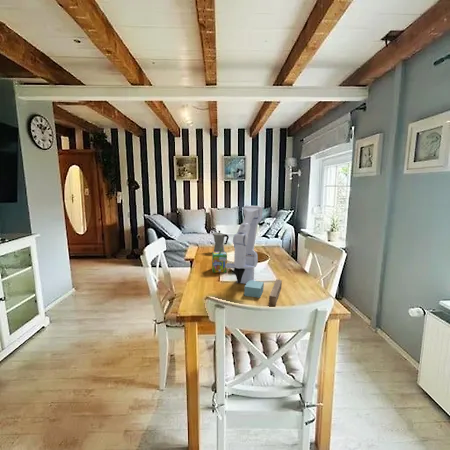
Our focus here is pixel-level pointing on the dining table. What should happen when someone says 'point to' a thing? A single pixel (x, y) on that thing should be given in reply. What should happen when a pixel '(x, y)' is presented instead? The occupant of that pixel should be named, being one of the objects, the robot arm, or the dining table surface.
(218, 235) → the coffeepot
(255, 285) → the block
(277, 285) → the board
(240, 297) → the dining table surface
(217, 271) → the chalk box
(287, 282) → the dining table surface
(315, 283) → the dining table surface
